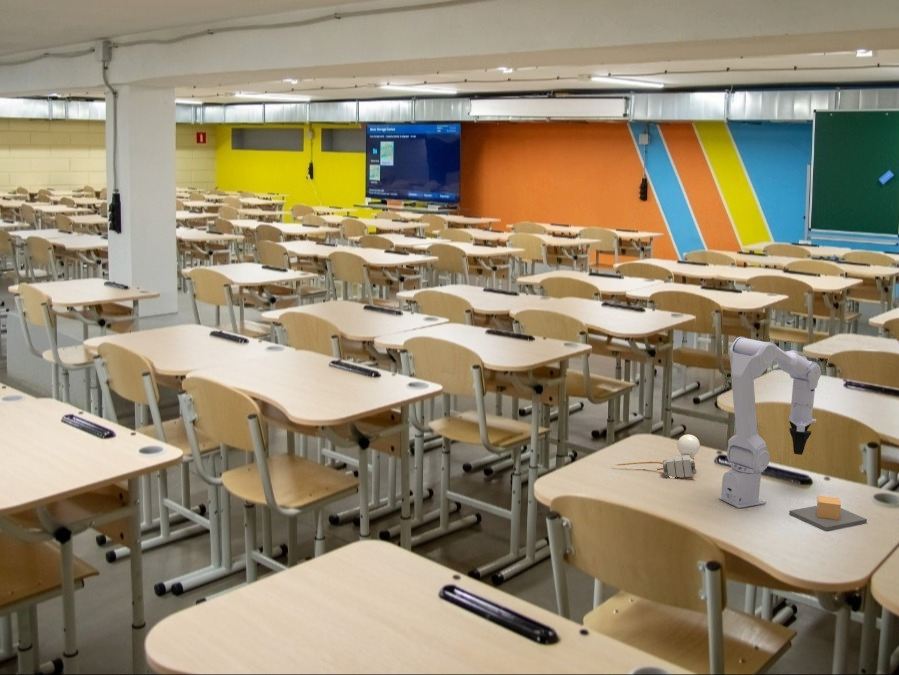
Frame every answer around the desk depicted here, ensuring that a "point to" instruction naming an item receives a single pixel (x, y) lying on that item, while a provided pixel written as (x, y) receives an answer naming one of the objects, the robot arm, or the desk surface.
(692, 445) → the lightbulb
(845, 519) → the plate
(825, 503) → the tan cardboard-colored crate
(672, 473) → the electrical component
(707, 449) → the desk surface
